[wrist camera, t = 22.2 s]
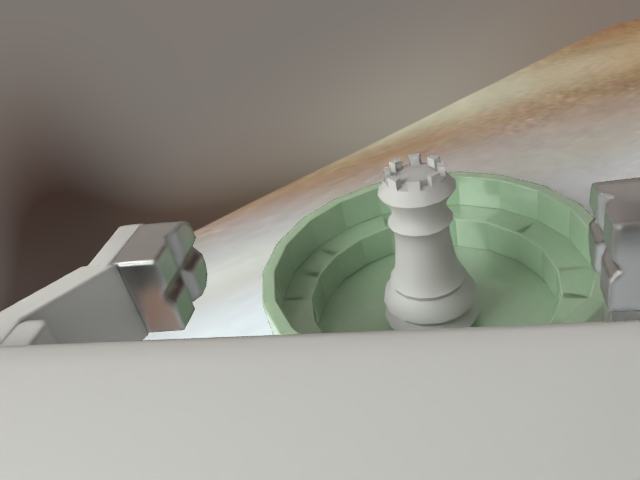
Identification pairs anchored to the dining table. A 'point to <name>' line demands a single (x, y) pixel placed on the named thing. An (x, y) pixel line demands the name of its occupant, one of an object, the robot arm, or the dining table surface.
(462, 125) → the dining table surface
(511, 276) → the bowl
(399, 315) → the rook chess piece
